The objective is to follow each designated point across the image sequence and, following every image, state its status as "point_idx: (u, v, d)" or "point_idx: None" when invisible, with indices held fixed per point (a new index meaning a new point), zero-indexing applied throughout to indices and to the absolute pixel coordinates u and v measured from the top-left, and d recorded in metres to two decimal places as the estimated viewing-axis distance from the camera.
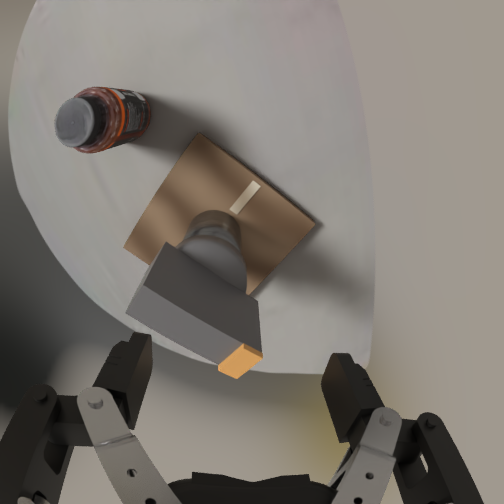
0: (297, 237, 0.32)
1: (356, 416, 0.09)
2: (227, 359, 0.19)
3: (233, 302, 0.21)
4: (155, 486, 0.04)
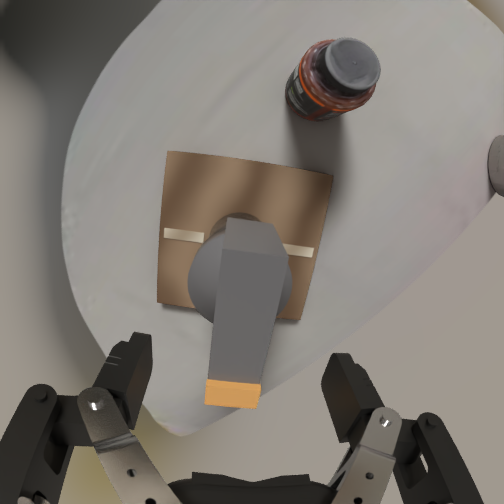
0: (280, 313, 0.31)
1: (356, 416, 0.09)
2: (227, 384, 0.14)
3: None
4: (155, 486, 0.04)
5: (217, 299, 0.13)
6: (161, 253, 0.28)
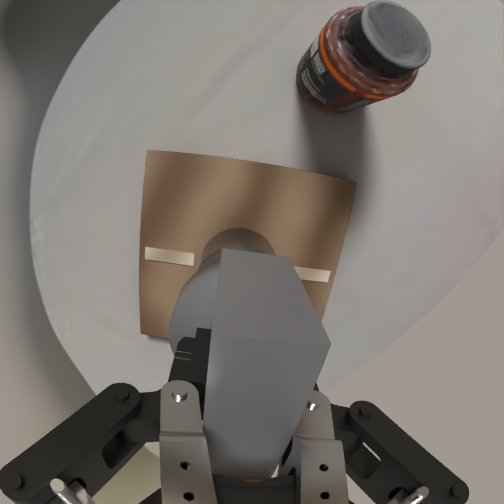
0: None
1: None
2: None
3: None
4: (201, 484, 0.05)
5: (206, 403, 0.07)
6: (143, 277, 0.23)
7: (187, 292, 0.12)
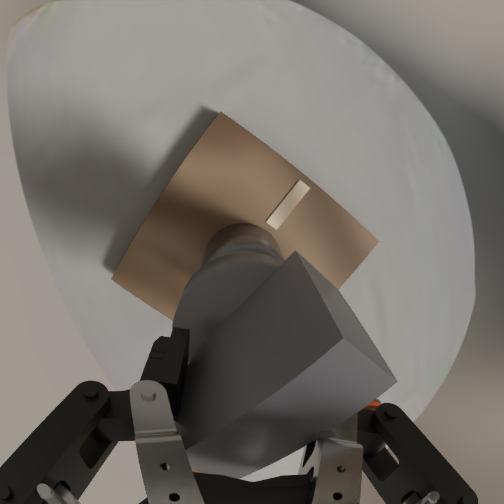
0: (128, 261, 0.22)
1: None
2: None
3: None
4: (184, 483, 0.05)
5: (272, 397, 0.07)
6: (282, 163, 0.20)
7: (234, 269, 0.12)
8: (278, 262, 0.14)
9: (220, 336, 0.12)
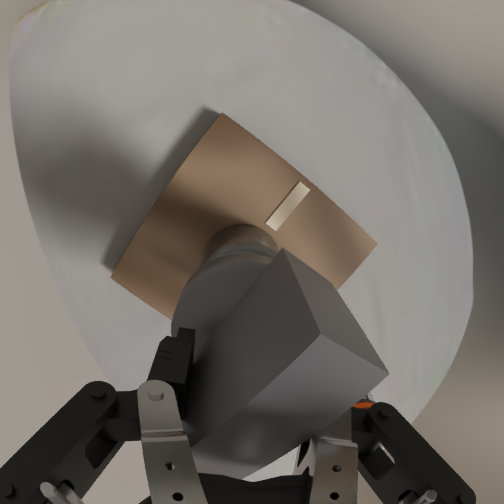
0: (127, 259, 0.22)
1: None
2: None
3: None
4: (188, 483, 0.05)
5: (258, 397, 0.07)
6: (283, 164, 0.20)
7: (224, 271, 0.12)
8: (269, 260, 0.14)
9: (216, 338, 0.12)
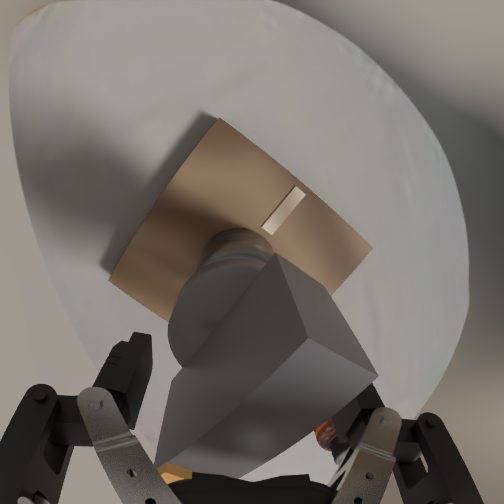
0: (125, 262, 0.22)
1: (356, 416, 0.09)
2: None
3: None
4: (155, 486, 0.04)
5: (249, 398, 0.07)
6: (279, 169, 0.20)
7: (218, 276, 0.12)
8: (263, 264, 0.14)
9: (212, 342, 0.12)
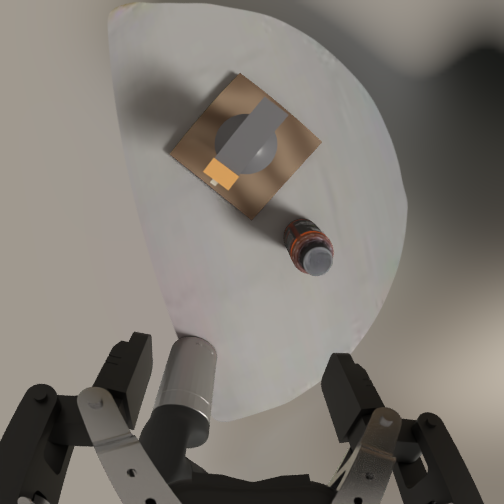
0: (182, 143, 0.39)
1: (356, 416, 0.09)
2: (223, 164, 0.25)
3: None
4: (155, 486, 0.04)
5: (249, 115, 0.24)
6: (268, 98, 0.37)
7: (239, 114, 0.29)
8: None
9: None
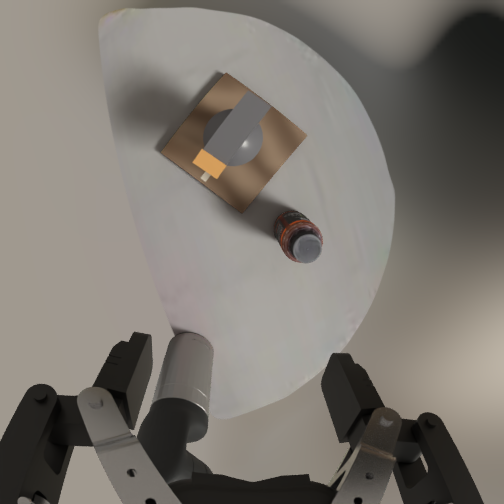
0: (172, 141, 0.40)
1: (356, 416, 0.09)
2: (211, 155, 0.26)
3: None
4: (155, 486, 0.04)
5: (234, 108, 0.25)
6: None
7: (225, 110, 0.31)
8: None
9: None
